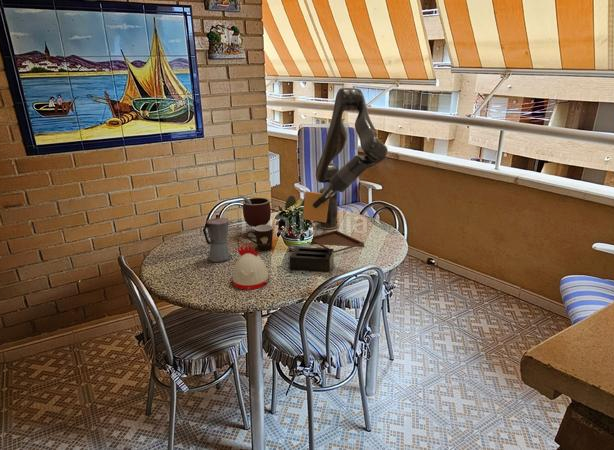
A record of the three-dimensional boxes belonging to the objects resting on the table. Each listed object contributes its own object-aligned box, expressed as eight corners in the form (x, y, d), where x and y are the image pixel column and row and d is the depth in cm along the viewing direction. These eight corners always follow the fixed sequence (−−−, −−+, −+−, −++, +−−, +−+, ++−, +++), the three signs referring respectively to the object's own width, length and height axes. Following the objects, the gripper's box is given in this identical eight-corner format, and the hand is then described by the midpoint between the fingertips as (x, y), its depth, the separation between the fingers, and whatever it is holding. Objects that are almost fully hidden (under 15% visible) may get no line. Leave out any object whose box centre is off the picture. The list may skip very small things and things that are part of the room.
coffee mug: (277, 245, 191) (276, 225, 188) (269, 252, 184) (268, 232, 180) (254, 243, 195) (253, 223, 192) (246, 250, 187) (244, 229, 184)
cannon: (291, 227, 215) (290, 206, 211) (272, 224, 220) (271, 204, 217) (313, 214, 236) (312, 195, 232) (295, 211, 241) (294, 192, 237)
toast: (302, 218, 171) (305, 191, 167) (303, 217, 173) (306, 190, 168) (325, 222, 170) (329, 195, 166) (326, 221, 171) (329, 194, 167)
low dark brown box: (287, 272, 164) (286, 256, 162) (293, 261, 174) (293, 246, 172) (329, 275, 161) (329, 259, 158) (333, 264, 171) (333, 248, 168)
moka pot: (238, 254, 183) (234, 211, 177) (217, 267, 170) (213, 222, 163) (220, 251, 187) (216, 209, 180) (199, 264, 174) (194, 219, 167)
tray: (307, 241, 196) (307, 237, 195) (335, 233, 204) (335, 230, 204) (334, 255, 179) (334, 251, 178) (364, 246, 187) (364, 242, 187)
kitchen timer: (238, 272, 165) (235, 238, 160) (271, 273, 164) (269, 238, 159) (228, 288, 152) (224, 252, 147) (264, 290, 151) (262, 252, 146)
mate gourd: (275, 229, 213) (273, 192, 206) (267, 239, 200) (264, 199, 193) (247, 227, 216) (244, 191, 209) (237, 237, 203) (234, 198, 197)
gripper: (339, 167, 168) (311, 195, 175) (335, 175, 156) (304, 204, 162) (352, 180, 169) (323, 207, 176) (349, 189, 156) (317, 217, 163)
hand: (314, 206), depth 169 cm, fingers closed on toast, 1 cm apart
